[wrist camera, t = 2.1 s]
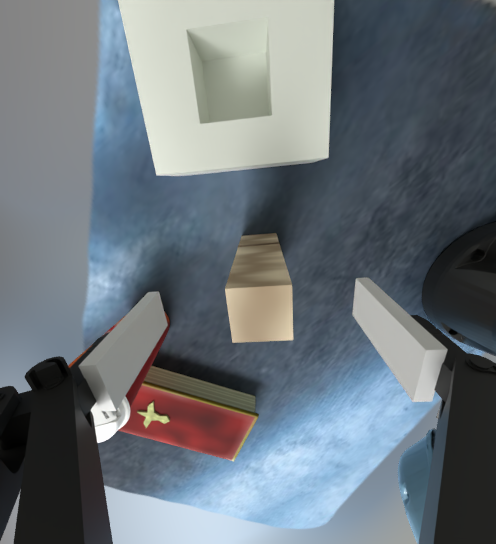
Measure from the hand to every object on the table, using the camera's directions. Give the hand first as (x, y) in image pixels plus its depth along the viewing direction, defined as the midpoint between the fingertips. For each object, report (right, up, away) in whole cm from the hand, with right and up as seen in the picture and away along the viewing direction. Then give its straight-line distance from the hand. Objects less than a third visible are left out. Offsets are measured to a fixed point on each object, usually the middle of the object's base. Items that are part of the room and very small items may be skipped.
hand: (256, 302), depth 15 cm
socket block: (-1, +18, +6) cm, 19 cm away
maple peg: (+1, +5, +12) cm, 13 cm away
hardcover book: (-11, -19, +23) cm, 32 cm away
